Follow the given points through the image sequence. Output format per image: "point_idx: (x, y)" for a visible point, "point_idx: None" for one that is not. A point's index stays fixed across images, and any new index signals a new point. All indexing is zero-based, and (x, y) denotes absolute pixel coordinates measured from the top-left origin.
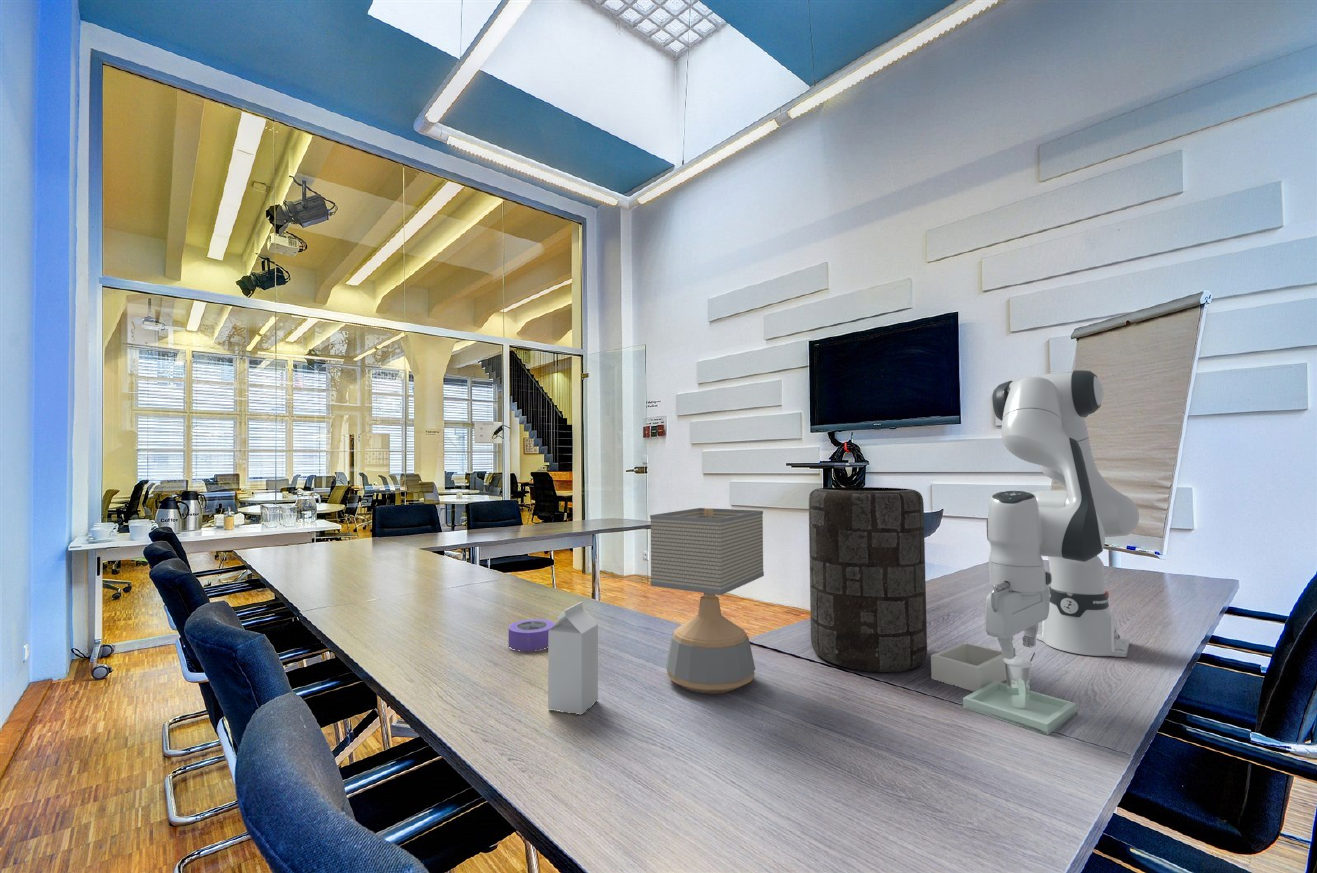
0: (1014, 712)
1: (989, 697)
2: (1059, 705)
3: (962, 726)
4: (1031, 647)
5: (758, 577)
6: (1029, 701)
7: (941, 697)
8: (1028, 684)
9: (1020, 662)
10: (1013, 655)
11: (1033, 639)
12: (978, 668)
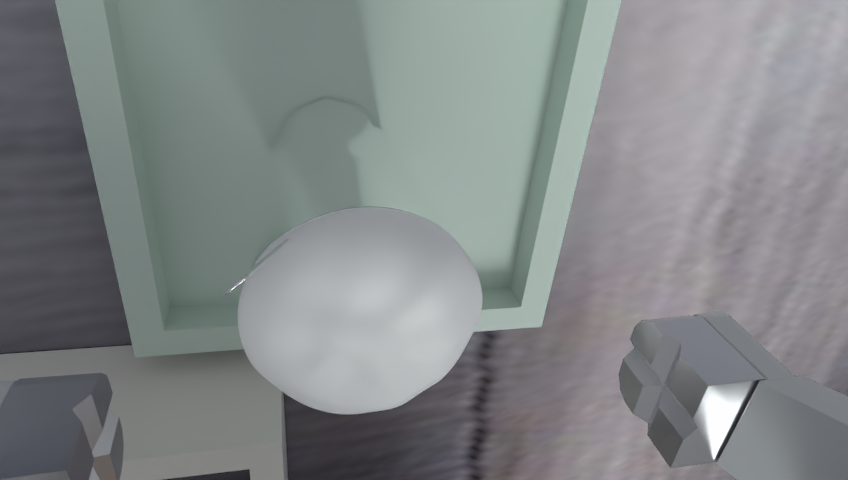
0: (573, 101)
1: None
2: None
3: (723, 214)
4: (105, 378)
5: None
6: (199, 133)
7: (468, 389)
8: (353, 150)
9: (457, 280)
10: (713, 331)
11: (27, 465)
12: (281, 446)
